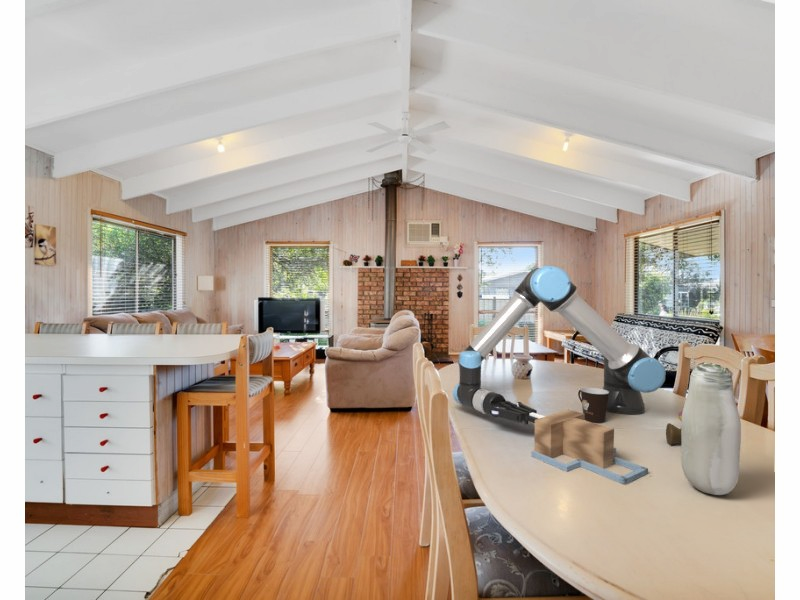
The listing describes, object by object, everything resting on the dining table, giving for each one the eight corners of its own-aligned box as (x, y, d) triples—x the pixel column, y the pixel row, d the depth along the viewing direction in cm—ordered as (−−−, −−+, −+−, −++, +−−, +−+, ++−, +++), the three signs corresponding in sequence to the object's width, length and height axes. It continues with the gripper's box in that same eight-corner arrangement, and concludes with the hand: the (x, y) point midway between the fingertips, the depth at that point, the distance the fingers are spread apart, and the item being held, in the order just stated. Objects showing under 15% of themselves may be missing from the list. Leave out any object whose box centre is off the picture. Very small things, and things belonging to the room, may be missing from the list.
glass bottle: (749, 504, 84) (753, 370, 83) (695, 500, 86) (698, 368, 85) (720, 481, 94) (723, 361, 93) (671, 478, 95) (674, 360, 94)
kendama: (678, 464, 104) (661, 435, 123) (724, 472, 101) (700, 441, 119) (679, 441, 104) (663, 416, 122) (725, 448, 100) (701, 421, 119)
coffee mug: (611, 425, 132) (612, 394, 131) (583, 423, 133) (584, 393, 133) (601, 414, 143) (602, 386, 143) (575, 412, 145) (576, 384, 144)
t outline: (531, 456, 108) (531, 451, 108) (580, 439, 119) (580, 435, 119) (610, 491, 89) (610, 485, 89) (659, 467, 101) (659, 463, 101)
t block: (534, 452, 110) (534, 419, 110) (567, 439, 119) (568, 409, 119) (591, 474, 97) (591, 437, 97) (623, 458, 106) (624, 424, 106)
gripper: (503, 411, 138) (564, 432, 118) (474, 417, 131) (534, 441, 111) (503, 389, 138) (564, 406, 118) (475, 394, 131) (534, 414, 111)
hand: (549, 423), depth 114 cm, fingers closed
